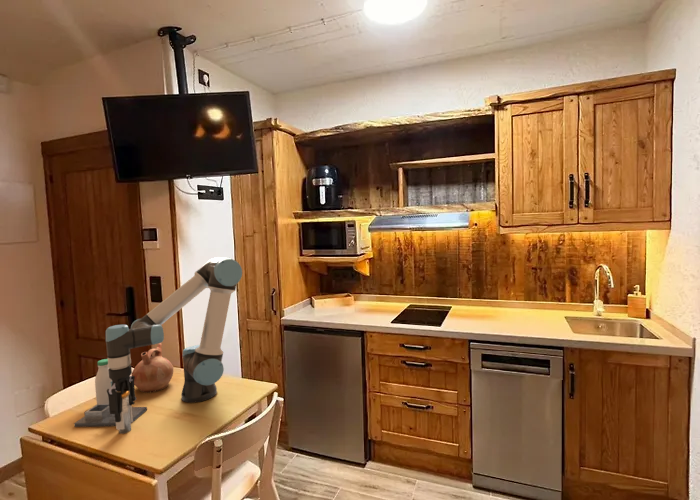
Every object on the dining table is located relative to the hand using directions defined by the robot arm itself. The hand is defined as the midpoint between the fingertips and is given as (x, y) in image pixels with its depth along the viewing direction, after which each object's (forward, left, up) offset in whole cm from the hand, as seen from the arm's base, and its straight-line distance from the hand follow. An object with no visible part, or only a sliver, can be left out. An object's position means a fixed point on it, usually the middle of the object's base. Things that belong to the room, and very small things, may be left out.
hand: (124, 425), depth 149 cm
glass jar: (0, 0, -2) cm, 2 cm away
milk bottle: (+23, -23, -2) cm, 33 cm away
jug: (+11, -40, -2) cm, 42 cm away
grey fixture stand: (+12, -10, -2) cm, 16 cm away
